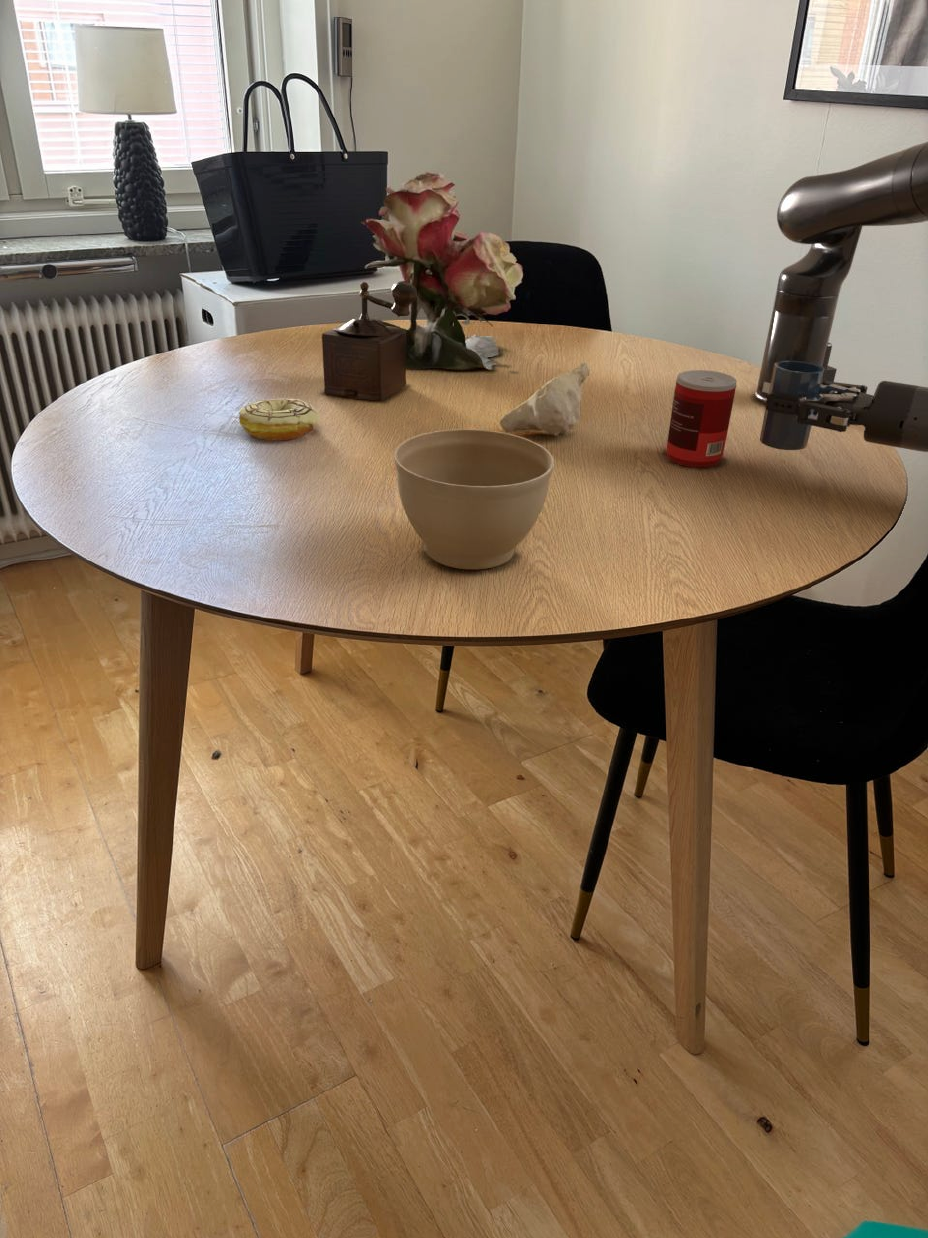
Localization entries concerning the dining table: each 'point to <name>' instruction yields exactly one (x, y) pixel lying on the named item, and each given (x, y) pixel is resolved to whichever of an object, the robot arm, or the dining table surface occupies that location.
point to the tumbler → (795, 382)
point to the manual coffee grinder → (368, 351)
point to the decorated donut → (278, 418)
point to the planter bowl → (472, 493)
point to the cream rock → (550, 405)
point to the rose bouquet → (443, 273)
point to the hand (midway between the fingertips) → (773, 394)
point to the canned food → (700, 417)
